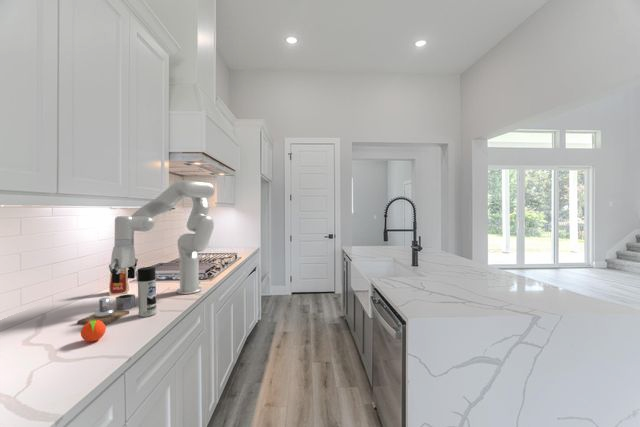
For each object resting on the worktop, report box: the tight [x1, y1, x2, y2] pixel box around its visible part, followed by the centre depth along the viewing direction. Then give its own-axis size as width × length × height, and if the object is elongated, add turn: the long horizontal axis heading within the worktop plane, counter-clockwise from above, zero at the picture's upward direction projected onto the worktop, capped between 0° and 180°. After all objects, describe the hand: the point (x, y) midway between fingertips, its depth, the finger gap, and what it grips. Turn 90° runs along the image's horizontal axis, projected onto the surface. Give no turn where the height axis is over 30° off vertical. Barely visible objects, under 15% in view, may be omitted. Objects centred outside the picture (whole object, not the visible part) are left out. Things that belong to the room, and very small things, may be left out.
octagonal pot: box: [115, 293, 136, 311], centre depth 141 cm, size 7×7×5 cm
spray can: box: [137, 266, 157, 318], centre depth 131 cm, size 7×7×20 cm
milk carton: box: [108, 268, 130, 297], centre depth 166 cm, size 9×9×20 cm
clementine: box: [80, 320, 107, 343], centre depth 105 cm, size 8×7×7 cm
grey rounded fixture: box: [94, 297, 115, 318], centre depth 127 cm, size 7×7×7 cm
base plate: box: [76, 309, 130, 326], centre depth 127 cm, size 13×12×1 cm
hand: (123, 280), depth 140 cm, fingers open, 9 cm apart
